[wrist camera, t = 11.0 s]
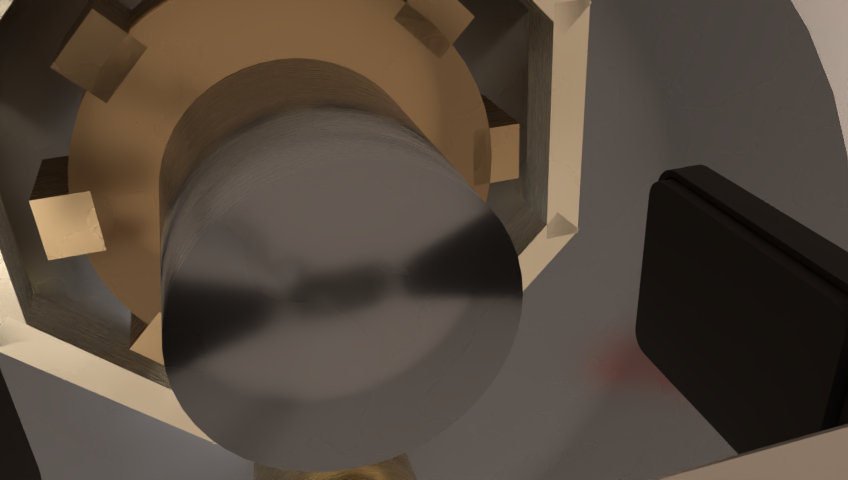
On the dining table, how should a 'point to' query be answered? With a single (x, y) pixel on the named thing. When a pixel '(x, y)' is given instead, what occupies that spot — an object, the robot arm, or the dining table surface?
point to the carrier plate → (511, 202)
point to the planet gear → (293, 215)
